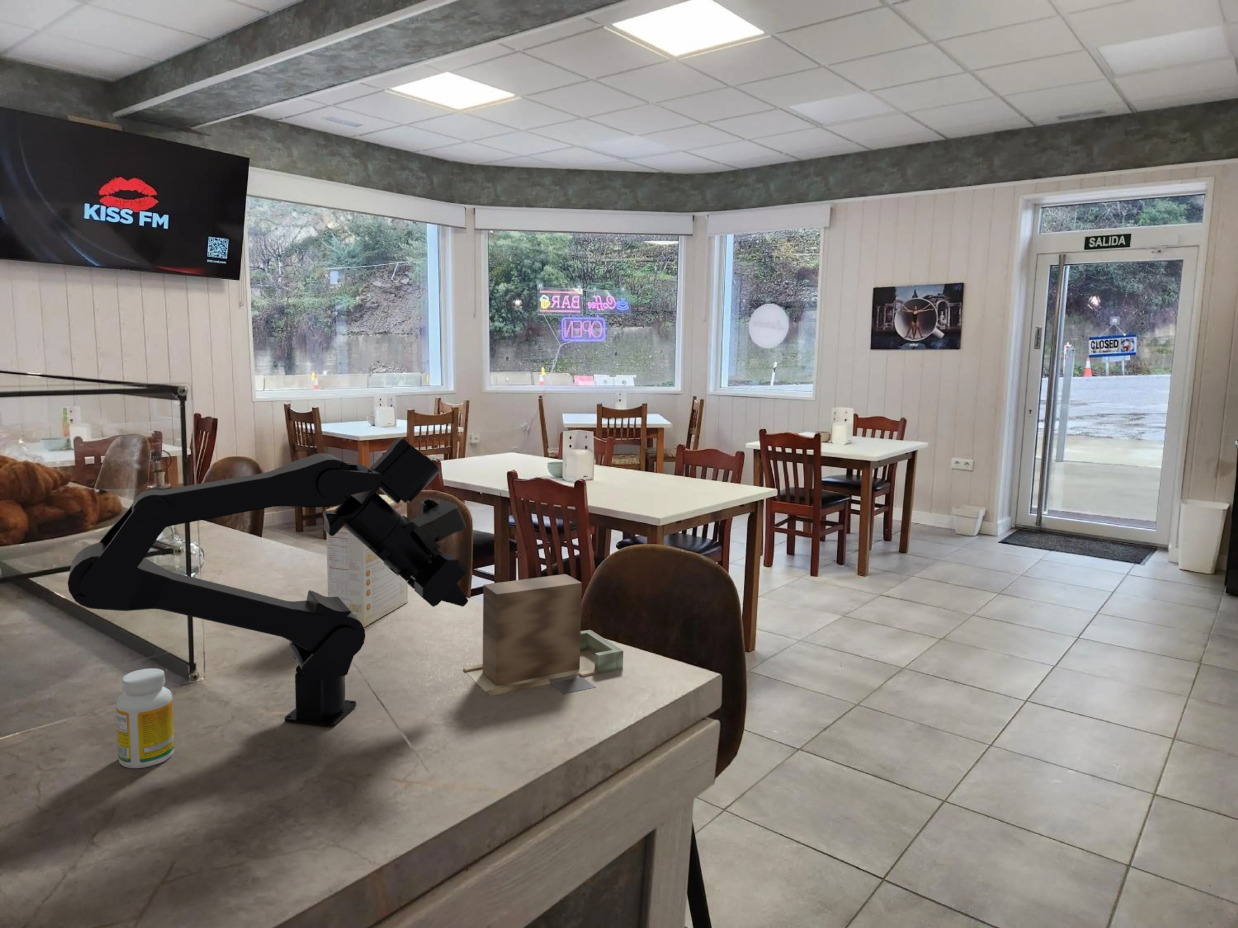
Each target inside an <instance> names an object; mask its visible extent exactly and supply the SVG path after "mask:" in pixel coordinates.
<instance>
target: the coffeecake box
mask: <svg viewBox="0 0 1238 928" xmlns="http://www.w3.org/2000/svg"><path fill="white" fill-rule="evenodd" d="M379 495H380V496H381V497H382V498H383V499H384V500H385V501H386V502H387V503H388V504H389V505H390V506H392V507H393V508H394V509H395V510H396V511H397V512H398V513H399V514H400V515H401V516H403V515H404V516H405V517H406V518H408V504H407V503H408V502H406V503H404V502H403V501H402V500H400V501H401V502H400V503H399V504H396V503H395V502H394V501H392V500H391V499H390V498H389V497H388V496H387V495H385V494H379ZM338 506H339V505H338ZM338 506H334V507H329V508H328V509H325V511H332V510H335V509H336V508H337V507H338ZM325 532H326V531H325ZM326 563H327V565H326V568H327V570H326V571H327V572H326V573H327V597H339V598H340V599H341V600H342V602H343V603H344V604H345V605H346V606H347V607H348V608H349V609H350V610H351V611H352V613H353V614H354V615H355V616H356V617H357V619H358V620H359V621H360V622H361V623H362V625H363V627H364V628H365V627H367V626H369V625H371V624H372V623H374V622H376V621H377V620H379V619H381V618H383V617H384V616H386V615H388V614H389V613H391V612H392V611H394V610H397V609H399V608H400V607H401V606H403V605H405V604H407V603H408V602H409V595H408V594H409V590H408V589H409V587H408V586H409V584H408V583H407V581H408V580H409V579H408V580H407V581H406V580H405V579H403V578H402V577H401V576H400V575H398V576H397V575H396V574H395V573H394V572H393V571H392V570H391V569H389V568H388V567H387V566H386V565H385V564H384V561H383V560H381V559H380V558H379V557H378V556H377V555H376V554H375V553H373V552H372V551H371V550H370V549H369V548H368V547H367V546H365V545H364V544H363V543H362V542H361V541H360V540H359V539H357V538H356V537H355V536H354V535H353V534H352V533H350V532H349V531H348V530H347V529H346V528H345V527H344V526H343V527H342V528H341V529H340V530H339V531H338V532H337V533H336V534H335V535H334V536H330V535H329V534H328V533H327V532H326Z"/></svg>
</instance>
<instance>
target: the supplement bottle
mask: <svg viewBox="0 0 1238 928" xmlns="http://www.w3.org/2000/svg"><path fill="white" fill-rule="evenodd" d="M165 683H166V676H165V671H164V670H163V669H160V668H153V667H152V668H143V669H142V668H141V669H138V670H133V671H131V672H129V673H126V674H125V675H124V676H123V677H122V691H123V693H122V694H121V695H120V696H119V697H118V698H117V700H116V704H115V713H116V714H115V715H116V734H117V755H118V761H119V764H120V765H122V766H123V768H124V767H125V768H128V769H144V768H148V767H153V766H156V765H159V764H162V763H164V762H165V761H168V759H169V758H171V757H172V756H173V754H174V752H175V732H174V731H175V730H174V710H173V708H174V707H173V694H172V692H171V690H170V689H168V688H167V687H165Z"/></svg>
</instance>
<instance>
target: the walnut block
mask: <svg viewBox="0 0 1238 928" xmlns="http://www.w3.org/2000/svg"><path fill="white" fill-rule="evenodd" d="M482 585H483V588H482V589H483V591H482V596H483V599H482V603H483V604H482V605H483V606H482V610H483V611H482V664H483V669H482V670H483V674H484V675H485V676H486V677H487V678H488V679H489V680H490V681H492V682H493V683H494V684H495V685H496V686H498V685H503V684H508V683H513V682H518V681H523V680H528V679H533V678H539V677H544V676H549V675H554V674H559V673H564V672H569V671H574V670H579V669H580V635H581V631H582V630H581V629H582V628H581V626H582V624H581V623H582V594H583V593H582V592H583V588H582V587H583V586H582V585H583V583H582V582H581V581H579V580H577V579H576V578H574V577H572V576H570V575H568V574H566V573H563V574H556V575H548V576H541V577H532V578H524V579H517V580H511V581H503V582H494V583H493V582H492V583H485V584H482Z"/></svg>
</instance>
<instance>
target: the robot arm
mask: <svg viewBox="0 0 1238 928" xmlns="http://www.w3.org/2000/svg"><path fill="white" fill-rule="evenodd" d="M440 472H441V470H440V468H439V467H438V466H437V465H436V464H435V462H434V461H433V460H432V459H430V458H429V457H428V455H425V454H424V453H423V454H422V453H421V451H419V449H417V448H415V447H414V446H413V445H412V444H410V443H409V442H408V441H407V440H406V439H405V438H402V437H396V439H395V440H393V441H392V443H391V444H390V446H389V447H388V449H387V450H386V451H385V452H384V453H383V454H381V456H380V457H379V458H378V459H377V460H376V461H375V462H374V463H373V464H372V465H371V466H370V467H369V466H367V465H365V464H361V463H359V464H356V463H355V464H354V463H346V462H345V461H343V460H341V459H340V458H338V457H336V456H335V455H332V454H329V453H314V454H311V455H309V456H305V457H303V458H300V459H297V460H293V461H291V462H289V463H286V464H283V465H281V466H279V467H277V468H275V469H273V470H269V471H267V472H263V473H256V474H251V475H250V474H249V475H245V476H238V477H232V478H227V479H220V480H214V481H207V482H203V483H196V484H190V485H185V486H184V485H183V486H178V487H172V488H167V489H147V490H144V491H142V492H141V493H139V494H138V495H137V496H136V497H135V498H134V500H133V501H132V504H131V505H130V507H129V508H128V509H127V510H126V511H125V512H124V513H123V514H122V515H121V517H120V518H119V519H118V520H117V521H115V523H114V524H113V525H112V526H111V527H110V528H109V529H108V530H107V532H106V533H105V534H104V535H103V536H102V538H101V539H100V540H99V541H98V542H95V543H93V544H90V545H88V546H86V547H84V548H82V549H81V550H80V551H78V553H77V554H75V556H74V558H73V559H72V561H71V565H70V570H69V575H68V579H67V580H68V581H67V587H68V591H69V594H70V596H71V597H72V599H73V600H74V602H76V604H78V605H80V606H82V607H85V608H87V609H91V610H92V609H93V610H101V611H102V610H104V611H119V612H120V611H121V612H130V611H131V612H132V611H133V612H134V611H147V610H160V611H165V612H171V613H175V614H178V615H183V616H188V617H192V618H197V619H199V620H200V619H201V620H204V621H205V620H206V621H210V622H214V623H218V624H223V625H228V626H231V627H237V628H241V629H244V630H249V631H254V632H258V633H263V634H265V635H266V634H267V635H271V636H275V637H281V638H282V639H286V640H287V641H289V642H290V643H289V650H290V651H291V654H292V656H293V658H294V659H295V660H296V663H298V665H297V666H296V667H295V673H294V685H295V686H294V690H295V692H294V693H295V695H294V697H295V698H294V699H295V708H294V709H293V710H292V711H290V712H289V713H288V714H286V715H285V716H284V717H283V718H284V723H293V724H304V725H313V726H321V727H333V726H335V725H336V724H338V723H339V721H341V720H342V719H343V718H344V717H346V715H347V714H349V712H351V711H352V710H353V709H354V708H355V707H357V701H356V700H347V699H346V676H347V675H348V672H349V671H350V668H351V666H352V662H353V660H354V657H355V656H356V654H358V653H359V652H360V651H361V649H362V647H363V645H364V644H365V639H366V630H365V627H363V625H362V623H361V622H360V621H359V620H358V619H357V617H356V616H355V615H354V614H353V613H352V611H351V610H350V609H349V608H348V607H347V606H346V605H345V604H344V603H343V602H342V600H341V599H340V598H339V597H328V596H326V595H322V594H320V593H319V592H316V591H314V590H310V589H309V590H308V592H307V596H306V599H305V600H298V601H297V600H295V601H294V600H293V601H290V600H284V599H280V598H277V597H273V596H269V595H266V594H260V593H257V592H253V591H250V590H246V589H245V590H244V589H242V588H238V587H237V588H236V587H235V586H229V585H226V584H222V583H217V582H213V581H209V580H206V579H202V578H201V579H200V578H199V577H198V578H197V577H193V576H189V575H187V574H186V575H185V574H181V573H177V572H174V571H171V570H168V569H166V568H164V567H163V566H160V565H159V564H157V563H155V562H153V561H151V560H150V559H148V558H147V557H146V556H147V554H148V553H149V551H150V550H151V549H152V547H153V545H154V544H155V542H157V539H158V538H159V536H160V535H161V534H162V533H163V532H164V530H165V529H166V528H168V527H172V526H177V525H178V526H179V525H183V524H189V523H193V522H199V521H204V520H210V519H215V518H220V517H226V516H230V515H236V514H242V513H248V512H252V511H258V510H264V509H268V508H269V509H270V508H273V507H274V508H275V507H292V508H293V507H294V508H334V507H337V506H338V507H337V508H336V509H335V510H332V511H326V510H323V512H322V515H323V517H324V518H323V519H324V521H323V530H324V531H325V532H327V533H328V534H329V535H330V536H334V535H335V534H336V533H337V532H338V531H339V530H340V529H341V528H342V527H343V526H344V527H345V528H346V529H347V530H348V531H349V532H350V533H352V534H353V535H354V536H355V537H356V538H357V539H359V540H360V541H361V542H362V543H363V544H364V545H365V546H367V547H368V548H369V549H370V550H371V551H372V552H373V553H375V554H376V555H377V556H378V557H379V558H380V559H381V560H383V561H384V564H385V565H386V566H387V567H388V568H389V569H391V570H392V571H393V572H394V573H395V574H396V575H397V576H398V575H400V576H401V577H402V578H403V579H405V580H406V581H407V580H408V581H407V583H408V586H410V587H411V589H414V592H415V593H416V594H417V595H419V597H421V598H422V599H423V600H424V601H426V602H427V603H428V604H429V605H430V607H433V608H434V607H436V606H438V605H439V604H440V603H441V602H444V603H445V602H446V603H449V604H453V605H456V606H459V607H462V608H463V607H465V606H466V605H467V604H468V603H469V600H468V598H467V596H466V595H465V593H464V591H463V589H461V587H460V586H459V584H458V583H459V582H460V581H461V579H462V578H464V576H465V575H466V574H467V572H468V567H467V566H466V565H465V564H463V562H461V561H460V560H459V559H458V558H457V557H455V556H454V555H452V554H451V553H449V552H447V553H444V552H442V550H440V548H441V545H440V544H438V542H440V541H442V540H445V538H448V537H449V536H451V535H453V534H456V533H458V532H459V533H460V532H461V531H464V529H466V528H467V525H466V522H465V520H464V518H463V515H462V513H461V511H460V509H459V507H458V505H457V504H455V503H454V502H452V501H449V500H445V501H444V500H441V501H440V503H438V502H437V501H435V500H434V499H432V498H430V497H427V498H424V499H423V500H421V501H419V504H418V506H419V507H418V513H416V517H414V518H413V519H408V517H407V518H406V517H405V516H404V515H403V516H401V515H400V514H399V513H398V512H397V511H396V510H395V509H394V508H393V507H392V506H390V505H389V504H388V503H387V502H386V501H385V500H384V499H383V498H382V497H381V496H380V495H381V494H378V491H379V490H380V491H381V492H382V493H383V495H387V496H388V497H389V498H390V499H391V500H392V501H394V502H395V503H396V504H399V503H400V502H401V501H400V500H402V501H403V502H404V503H406V502H407V503H408V504H411V503H412V502H413V501H414V500H415V499H416V498H417V497H418V495H419V494H421V492H422V491H423V490H425V488H426V487H427V486H428V485H429V484H430V483H431V482H432V481H433V480H434V479H435V477H437V476H438V474H439V473H440ZM353 495H355V496H353ZM327 533H326V534H327Z"/></svg>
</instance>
